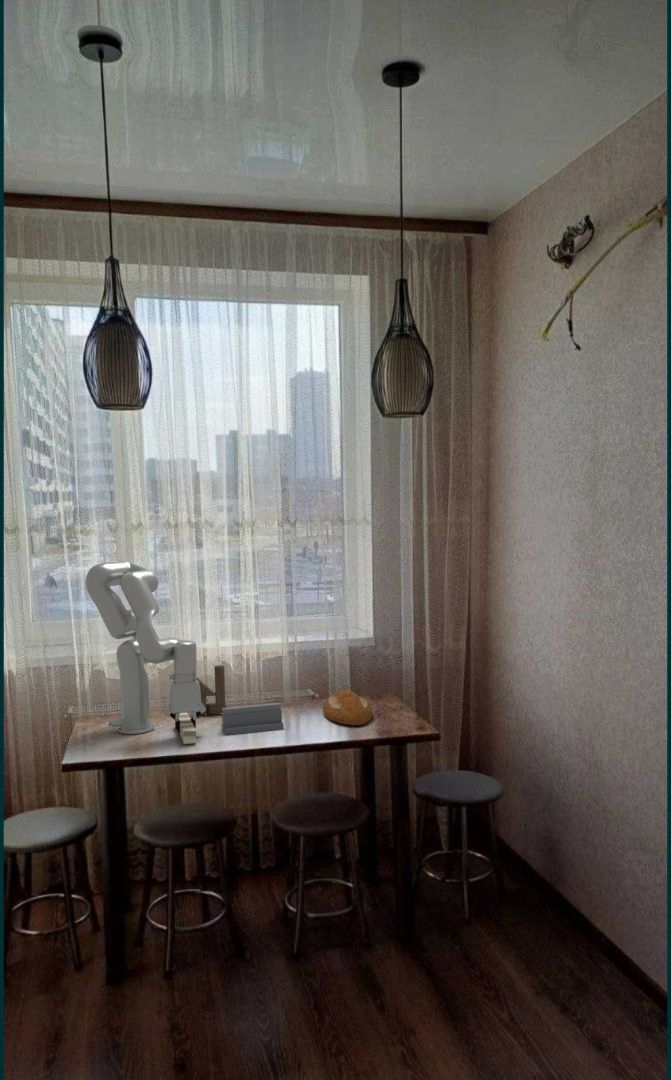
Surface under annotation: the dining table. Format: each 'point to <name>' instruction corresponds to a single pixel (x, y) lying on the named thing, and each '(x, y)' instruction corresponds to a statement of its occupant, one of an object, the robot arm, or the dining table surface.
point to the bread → (347, 708)
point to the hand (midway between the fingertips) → (185, 730)
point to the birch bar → (187, 729)
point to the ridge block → (252, 719)
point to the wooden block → (219, 692)
